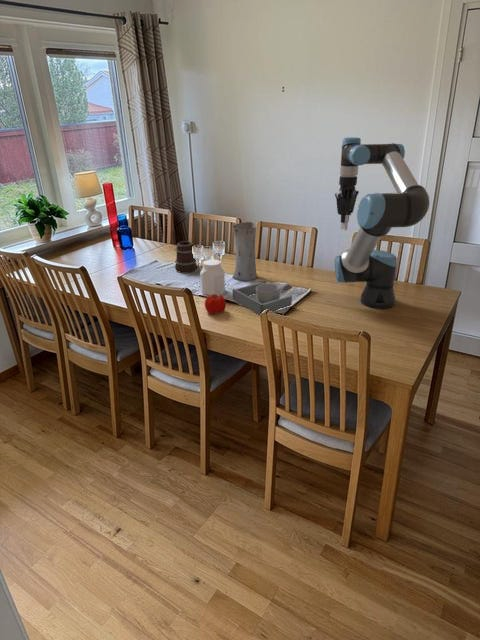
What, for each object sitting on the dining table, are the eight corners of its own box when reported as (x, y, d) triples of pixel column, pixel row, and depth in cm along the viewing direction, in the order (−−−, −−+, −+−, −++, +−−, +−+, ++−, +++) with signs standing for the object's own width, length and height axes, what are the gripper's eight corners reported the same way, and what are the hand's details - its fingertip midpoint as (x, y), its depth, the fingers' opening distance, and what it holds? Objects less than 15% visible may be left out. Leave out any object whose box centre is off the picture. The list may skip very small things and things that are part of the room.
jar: (228, 290, 216) (227, 260, 209) (219, 297, 208) (217, 267, 202) (208, 286, 221) (206, 257, 214) (198, 293, 213) (196, 263, 206)
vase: (229, 281, 227) (227, 228, 214) (237, 271, 239) (236, 221, 226) (253, 284, 224) (253, 230, 211) (260, 274, 235) (260, 222, 222)
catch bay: (291, 306, 197) (291, 295, 195) (261, 316, 189) (261, 304, 186) (261, 291, 214) (261, 281, 211) (232, 299, 205) (232, 289, 203)
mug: (189, 274, 237) (187, 247, 231) (171, 270, 243) (169, 244, 236) (204, 265, 250) (203, 239, 243) (187, 262, 255) (185, 237, 248)
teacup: (276, 309, 195) (277, 292, 191) (253, 306, 198) (253, 290, 194) (283, 297, 207) (283, 281, 203) (260, 295, 210) (260, 279, 206)
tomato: (201, 312, 194) (200, 296, 190) (216, 306, 199) (216, 290, 196) (215, 318, 188) (215, 302, 184) (230, 312, 193) (230, 296, 190)
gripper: (352, 173, 198) (347, 225, 208) (331, 176, 191) (327, 229, 202) (365, 175, 192) (359, 228, 203) (344, 178, 186) (339, 233, 196)
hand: (343, 229), depth 202 cm, fingers closed
